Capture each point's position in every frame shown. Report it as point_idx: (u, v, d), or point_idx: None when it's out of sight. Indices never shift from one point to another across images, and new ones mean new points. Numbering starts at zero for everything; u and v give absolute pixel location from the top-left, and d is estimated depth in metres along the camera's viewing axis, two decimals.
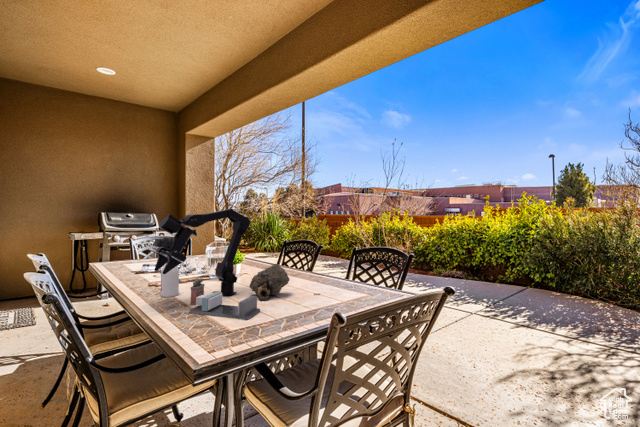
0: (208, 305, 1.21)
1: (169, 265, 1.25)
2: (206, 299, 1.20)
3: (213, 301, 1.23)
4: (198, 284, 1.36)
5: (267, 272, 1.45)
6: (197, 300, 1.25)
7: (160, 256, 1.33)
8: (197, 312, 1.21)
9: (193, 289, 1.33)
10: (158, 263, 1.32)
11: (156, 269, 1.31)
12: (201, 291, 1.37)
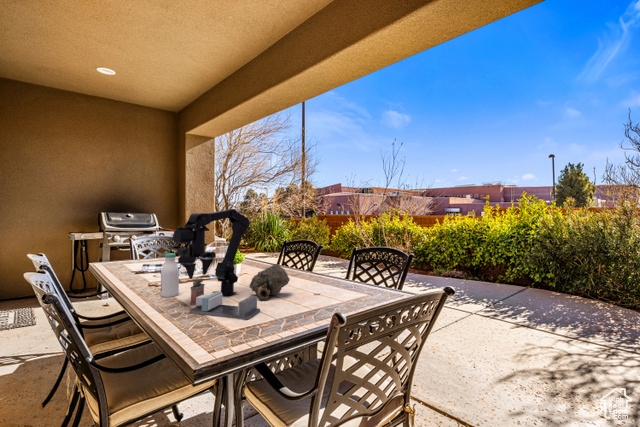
0: (208, 305, 1.21)
1: (188, 270, 1.31)
2: (206, 299, 1.20)
3: (213, 301, 1.23)
4: (198, 284, 1.36)
5: (267, 272, 1.44)
6: (197, 300, 1.25)
7: (202, 261, 1.42)
8: (197, 312, 1.21)
9: (193, 289, 1.33)
10: (203, 267, 1.41)
11: (204, 273, 1.41)
12: (201, 291, 1.37)
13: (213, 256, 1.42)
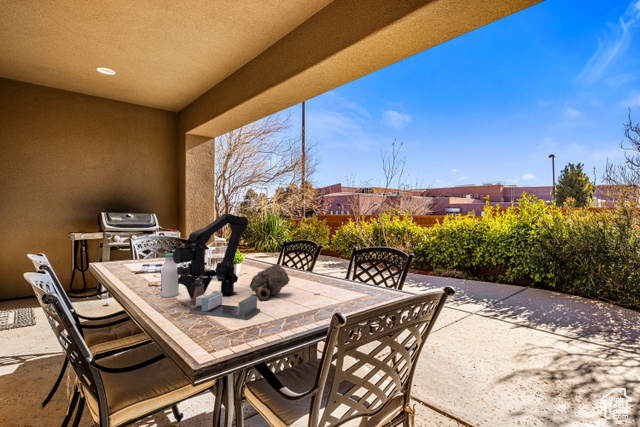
0: (208, 305, 1.21)
1: (189, 289, 1.31)
2: (206, 299, 1.20)
3: (213, 301, 1.23)
4: (198, 284, 1.36)
5: (267, 272, 1.44)
6: (197, 300, 1.25)
7: None
8: (197, 312, 1.21)
9: None
10: None
11: None
12: (201, 291, 1.37)
13: (213, 274, 1.42)
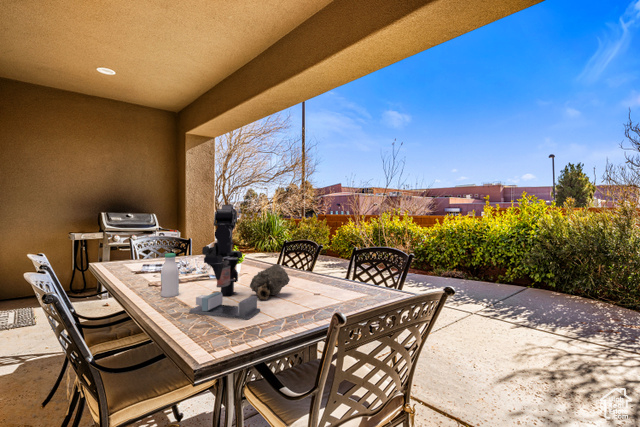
0: (208, 305, 1.21)
1: (215, 270, 1.21)
2: (206, 299, 1.20)
3: (213, 301, 1.23)
4: (224, 265, 1.25)
5: (267, 272, 1.44)
6: (197, 300, 1.25)
7: None
8: (197, 312, 1.21)
9: None
10: None
11: None
12: (227, 273, 1.26)
13: (240, 256, 1.32)
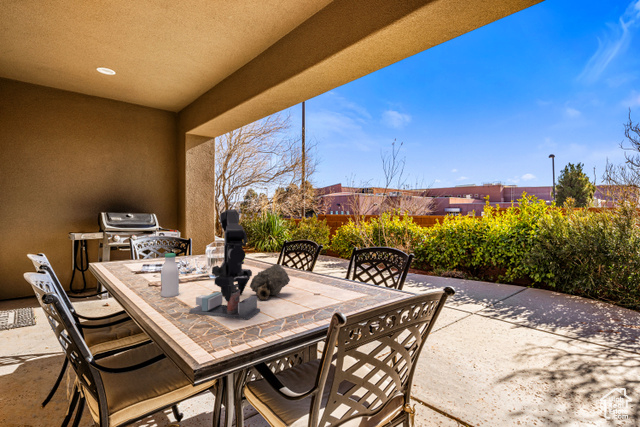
0: (208, 305, 1.21)
1: (225, 292, 1.17)
2: (206, 299, 1.20)
3: (213, 301, 1.23)
4: (234, 290, 1.22)
5: (267, 272, 1.44)
6: (197, 300, 1.25)
7: (237, 280, 1.28)
8: (197, 312, 1.21)
9: None
10: (238, 287, 1.27)
11: None
12: (238, 297, 1.23)
13: (249, 274, 1.29)
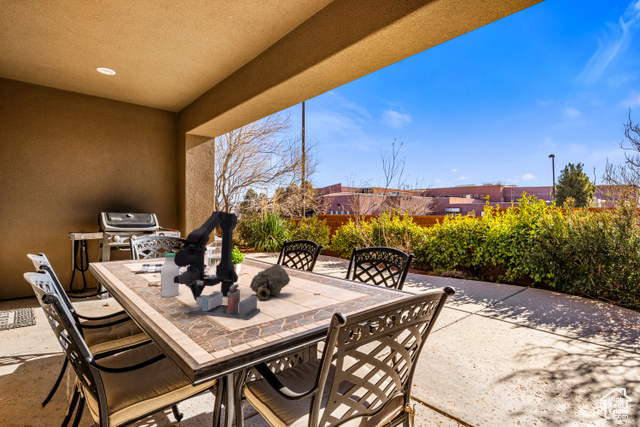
0: (208, 305, 1.21)
1: (199, 291, 1.27)
2: (206, 299, 1.20)
3: (213, 301, 1.23)
4: (235, 290, 1.22)
5: (267, 272, 1.44)
6: (197, 300, 1.25)
7: (193, 286, 1.26)
8: (197, 312, 1.21)
9: (230, 295, 1.19)
10: None
11: None
12: (238, 297, 1.23)
13: None
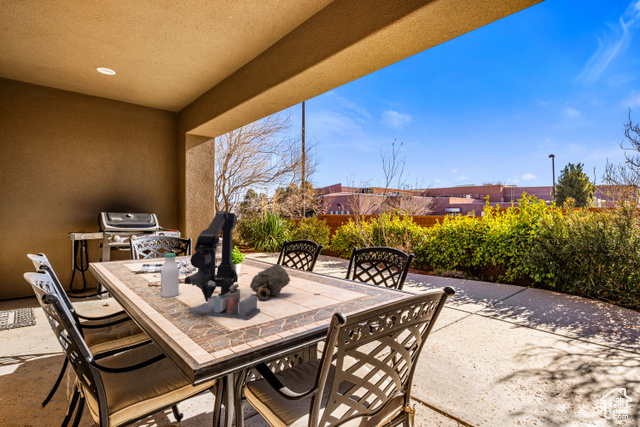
0: (220, 306, 1.19)
1: (210, 292, 1.25)
2: (218, 300, 1.19)
3: (225, 302, 1.22)
4: (235, 290, 1.22)
5: (267, 272, 1.44)
6: (209, 301, 1.23)
7: (204, 287, 1.25)
8: (197, 312, 1.21)
9: (230, 295, 1.19)
10: (206, 294, 1.25)
11: (207, 300, 1.26)
12: (238, 297, 1.23)
13: None
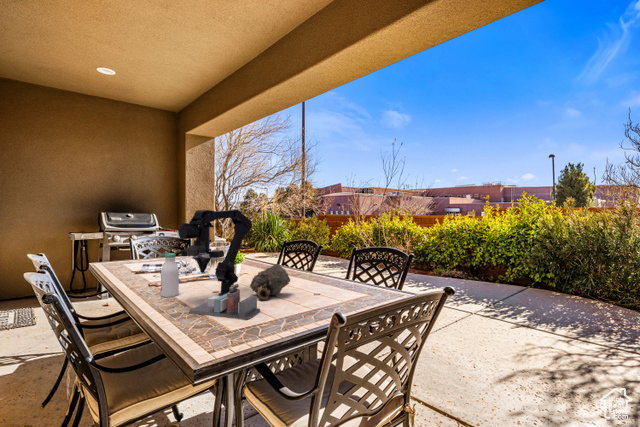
0: (220, 306, 1.19)
1: (205, 264, 1.38)
2: (218, 300, 1.19)
3: (225, 302, 1.22)
4: (235, 290, 1.22)
5: (267, 272, 1.44)
6: (209, 301, 1.23)
7: (199, 259, 1.37)
8: (197, 312, 1.21)
9: (230, 295, 1.19)
10: (201, 265, 1.38)
11: None
12: (238, 297, 1.23)
13: None
